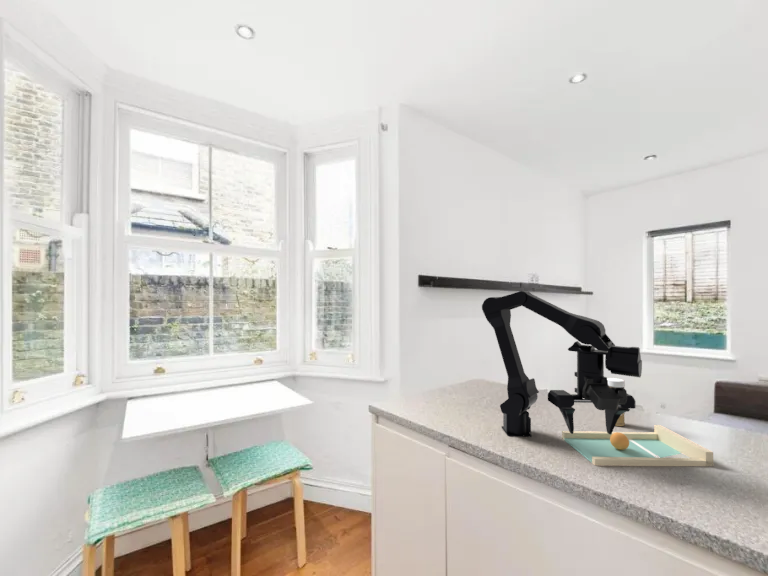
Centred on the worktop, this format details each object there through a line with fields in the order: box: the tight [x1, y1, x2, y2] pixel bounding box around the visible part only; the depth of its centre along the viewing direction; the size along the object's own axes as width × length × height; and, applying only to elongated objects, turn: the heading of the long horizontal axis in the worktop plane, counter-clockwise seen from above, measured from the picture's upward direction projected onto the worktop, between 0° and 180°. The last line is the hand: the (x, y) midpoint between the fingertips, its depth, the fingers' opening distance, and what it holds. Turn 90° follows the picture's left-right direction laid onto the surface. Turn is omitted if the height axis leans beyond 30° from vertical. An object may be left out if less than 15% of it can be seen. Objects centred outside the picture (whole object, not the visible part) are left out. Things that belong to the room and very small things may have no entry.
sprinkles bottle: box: [607, 377, 626, 427], centre depth 106 cm, size 5×5×14 cm
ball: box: [610, 431, 629, 450], centre depth 88 cm, size 4×4×4 cm
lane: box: [561, 424, 714, 467], centre depth 87 cm, size 26×16×4 cm, turn 88°
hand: (590, 433), depth 87 cm, fingers open, 9 cm apart
